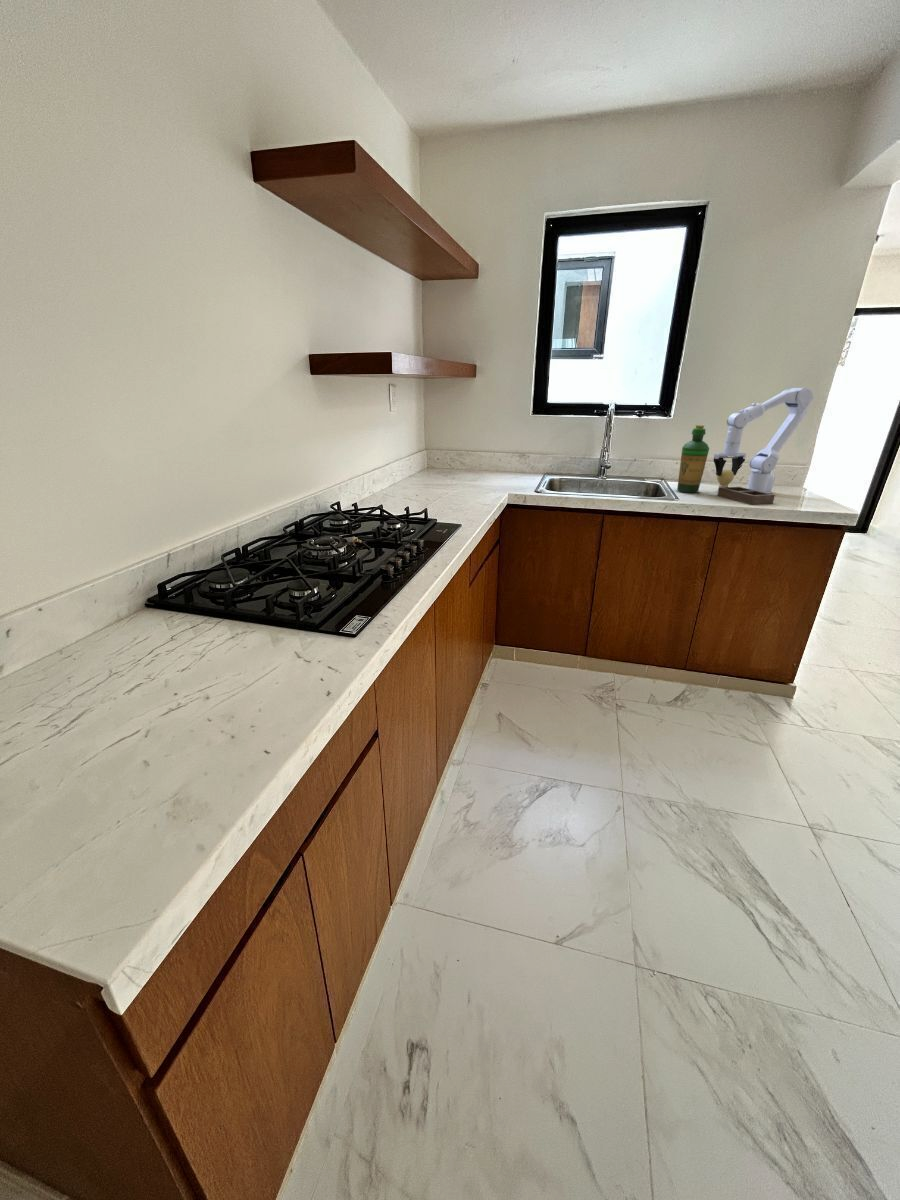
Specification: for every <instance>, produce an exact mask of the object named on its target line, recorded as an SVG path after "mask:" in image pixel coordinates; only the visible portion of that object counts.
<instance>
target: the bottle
mask: <svg viewBox="0 0 900 1200" xmlns="http://www.w3.org/2000/svg"><path fill="white" fill-rule="evenodd" d="M691 435H692V438H691V440H689V441H688V442H686V443H685V444H684V445H683V446H682V447H681V454H680V455H681V456H680V457H681V458H680V463H679V471H678V480H677V490H676V491H678V492H679V493H684V494H696V493H698V492H699V490H700V486H701V482H702V478H703V474H704V471H705V467H706V463H707V459H708V455H709V451H710V447H709V445H708V444H707V442H705V441H704V437H705V435H706V428H705V425H701V424H696V425H695V427H694V428H693V429H692V431H691Z"/></svg>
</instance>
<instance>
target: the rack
mask: <svg viewBox="0 0 900 1200" xmlns="http://www.w3.org/2000/svg"><path fill="white" fill-rule="evenodd" d="M718 487H719V486H718ZM717 496H718V497H721V498H725V499H728V500H731V501H732V500H733V501H736V502H740V503H744V504H747V505H754V506H755V505H770V504H774V500H775V496H776V495H775V494H774V493H765V492H760V491H756V490H752V489H747V487H742V486H728V487H719V491H718V490H717Z"/></svg>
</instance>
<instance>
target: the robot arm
mask: <svg viewBox="0 0 900 1200" xmlns="http://www.w3.org/2000/svg"><path fill="white" fill-rule="evenodd" d="M813 400H814V393H813V390H812V389H811V388H810V387H789V388H787V389H785V390H783V391H781V392H780V393H778V394H776V395H775V396H774V395H773V397H770V398H769V399H767V400H766V401H764V402H762V403H759V402H753V403H751V404H750V405H749V406H748V407H746V408H743V409H739V412H733V413H732V414H730V415H729V416H728V418H727V419H726V425H727V431H726V432H727V433H726V437H725V442H724V447H723V452H720V453H714V455H713V463H714V467H715V475H716V477H717V476H721V474H722V471H723V470H724V467H725V465H726V464H727V460H726V459H731V469H730V470H731V471H732V472H733V474H734V476H737V474H738V471H739V469H740V468H741V467H742V465H743V464H744V463H745V461H746V457H747V453H746V452H740V447H741V442H742V438H743V434H744V433H743V432H744V429H745V428H746V426H747V425H748V423H750V422H752V421H755V420H757V419H758V418H760V417H763V415H764V413H765V412H766V411H769V410H771V409H773V408H775V407H777V406H779V405H782V404H784V405H785V406H786V407H787V410H788V413H789V414H788V416H787V417H786V418H785V420H784V421H783V422H782V424H781V425H780V427H779V428H778V429H777V430H776V432H775V433H774V434H773V436H772V437H771V439H770V440H769V442H768V443H767V445H766V446H765V447H764V448H762V449H761V450H759V451H758V452H757V453H756V454H755V455H753V456H752V457H751V458H750V460H749V464H748V465H749V468H750V473H749V479H748V483H747V486H746V488H747V489H752V490H756V491H760V492H765V493H769V494H774V492H773V487H774V483H775V474H774V473H773V472H772V471H774V470H775V469H776V466H777V462H778V461H779V459H780V457H779V453H780V451H781V450H782V448H783V447H784V445H785V444H786V443H787V442H788V440H789V439H790V438H791V436H792V434H793V433H794V432H795V430H797V428H798V426H799V425H800V424H801V423H802V421H803V419H805V417H806V415H807V413H808V410H809V407H810V404H811V403H812V401H813Z"/></svg>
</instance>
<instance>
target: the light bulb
mask: <svg viewBox="0 0 900 1200" xmlns="http://www.w3.org/2000/svg"><path fill="white" fill-rule="evenodd" d="M734 478H735V475H734V474H733V472H732V471H731V469H727V468H725V469H723V471H722V474H721V476H717V475H716V479H717V482H718V488H717V492H718V491H719V487H729V485H730V484H731V483H732V481H733V480H734Z"/></svg>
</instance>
